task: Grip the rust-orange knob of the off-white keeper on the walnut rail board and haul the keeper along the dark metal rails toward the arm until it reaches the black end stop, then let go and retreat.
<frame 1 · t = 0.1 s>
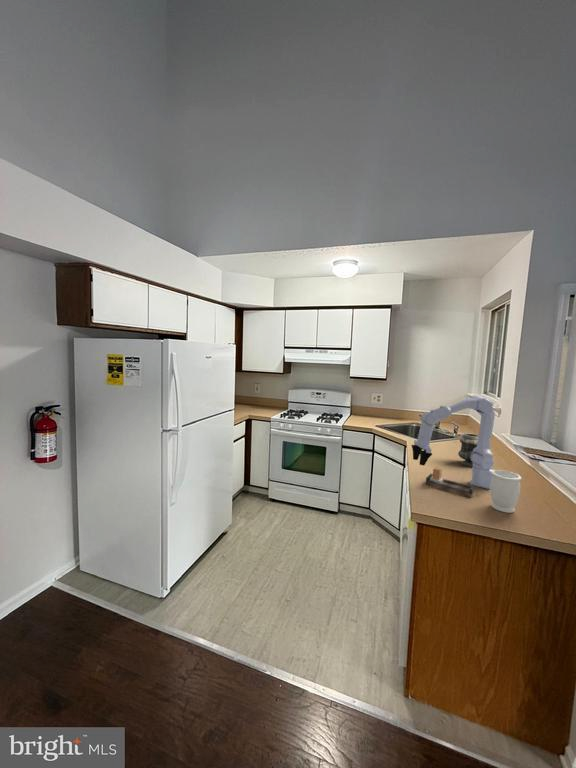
hand: (418, 462, 157), 11 cm above the worktop, tool pointing down, fingers open, 7 cm apart
rail board: (449, 488, 152), on the worktop
keeper: (437, 474, 156), point 5 cm above the worktop, slide at 0.0 cm
apothecary jar: (468, 464, 187), on the worktop
jar: (502, 508, 134), on the worktop
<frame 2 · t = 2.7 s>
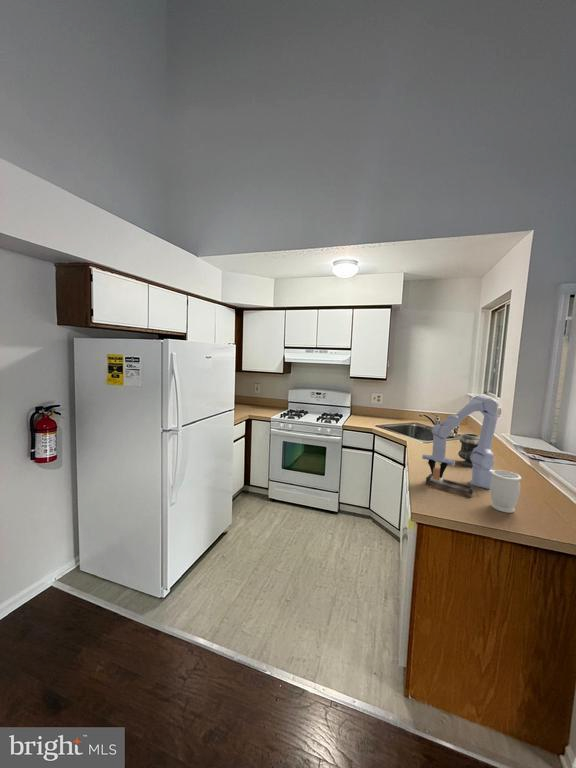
hand: (437, 476, 156), 4 cm above the worktop, tool pointing down, fingers closed on keeper, 3 cm apart
keeper: (437, 474, 156), point 5 cm above the worktop, slide at 0.0 cm, touching gripper
everything else where it was.
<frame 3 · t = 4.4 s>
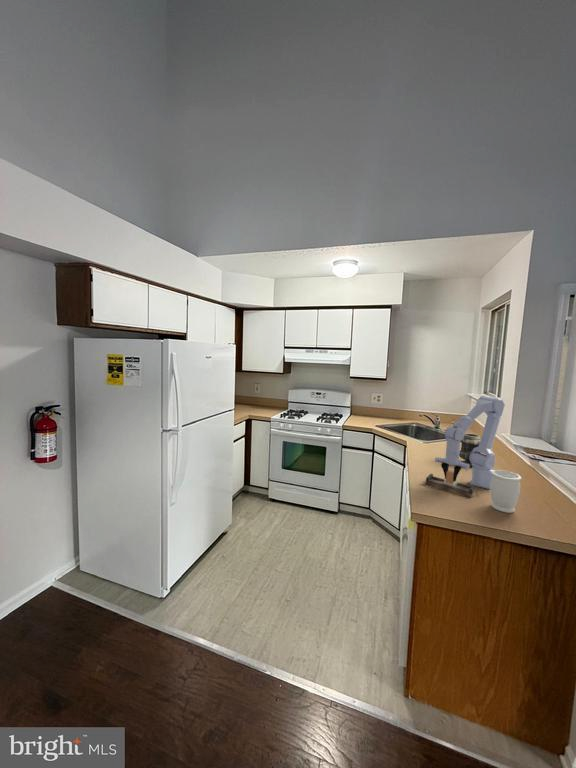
hand: (450, 479, 152), 4 cm above the worktop, tool pointing down, fingers closed on keeper, 3 cm apart
keeper: (450, 478, 152), point 5 cm above the worktop, slide at 6.0 cm, touching gripper
everything else where it was.
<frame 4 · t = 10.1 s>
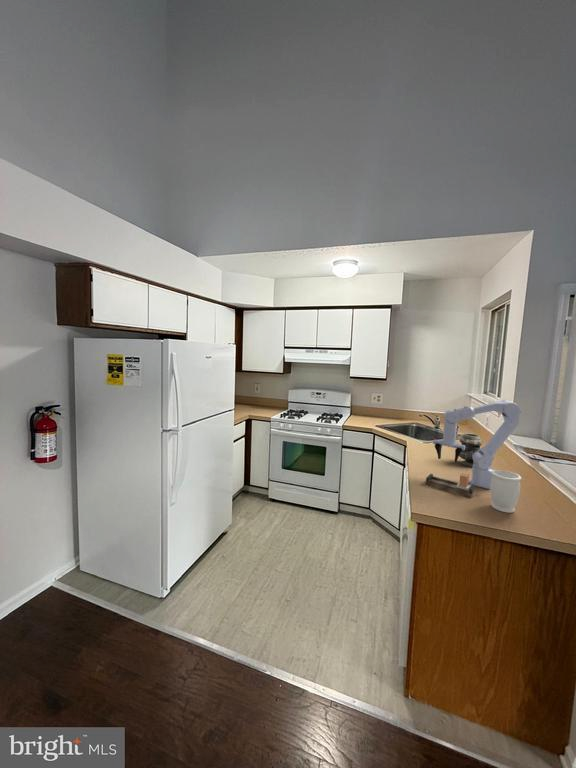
hand: (447, 460, 162), 10 cm above the worktop, tool pointing down, fingers open, 7 cm apart
keeper: (464, 481, 148), point 5 cm above the worktop, slide at 11.8 cm
everything else where it was.
at the end: keeper slide at 11.8 cm; the gripper is holding nothing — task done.
